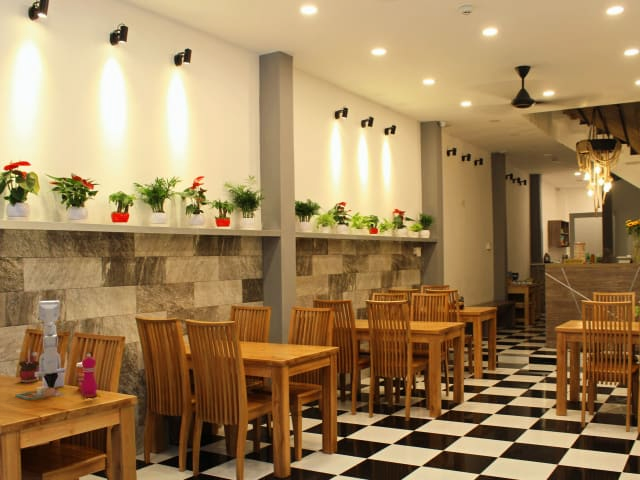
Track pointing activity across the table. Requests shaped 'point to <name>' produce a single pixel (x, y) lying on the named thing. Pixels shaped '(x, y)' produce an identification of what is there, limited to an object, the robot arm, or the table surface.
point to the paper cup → (80, 374)
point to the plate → (48, 396)
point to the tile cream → (41, 390)
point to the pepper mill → (89, 377)
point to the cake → (29, 368)
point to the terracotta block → (49, 391)
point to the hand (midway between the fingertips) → (51, 389)
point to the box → (29, 397)
